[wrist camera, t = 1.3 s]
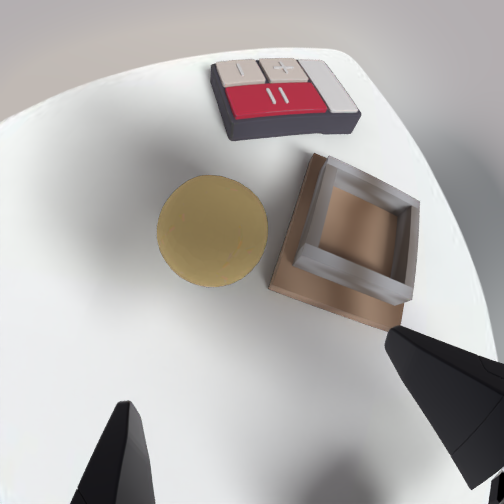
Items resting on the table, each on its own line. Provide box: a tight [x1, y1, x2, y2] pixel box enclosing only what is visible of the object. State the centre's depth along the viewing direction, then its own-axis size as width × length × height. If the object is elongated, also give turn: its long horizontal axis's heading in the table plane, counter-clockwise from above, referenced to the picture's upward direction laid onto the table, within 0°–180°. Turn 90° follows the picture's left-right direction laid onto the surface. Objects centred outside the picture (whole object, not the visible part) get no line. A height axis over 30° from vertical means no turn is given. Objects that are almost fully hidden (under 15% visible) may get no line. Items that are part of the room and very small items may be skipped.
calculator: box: [211, 58, 361, 141], centre depth 30 cm, size 11×4×15 cm
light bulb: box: [157, 175, 268, 287], centre depth 19 cm, size 6×6×10 cm
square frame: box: [268, 153, 420, 332], centre depth 24 cm, size 12×14×4 cm
